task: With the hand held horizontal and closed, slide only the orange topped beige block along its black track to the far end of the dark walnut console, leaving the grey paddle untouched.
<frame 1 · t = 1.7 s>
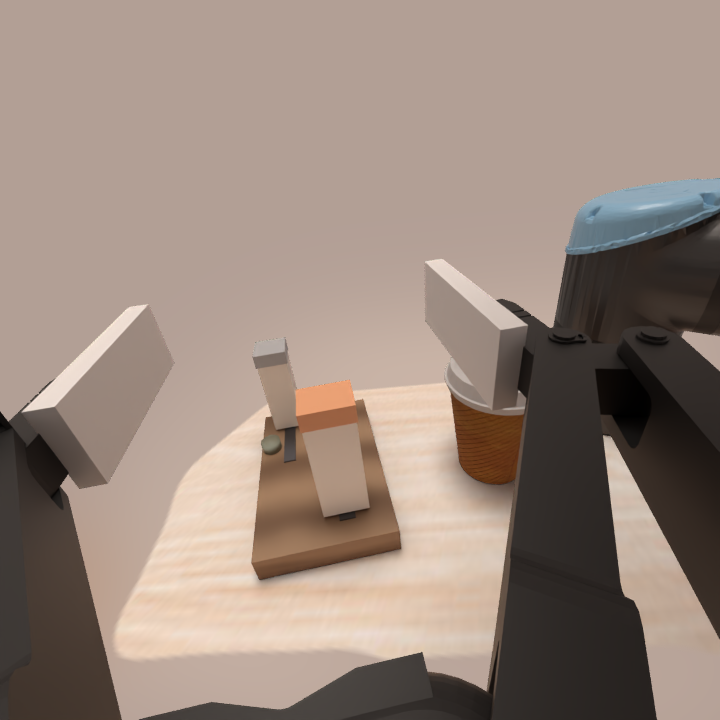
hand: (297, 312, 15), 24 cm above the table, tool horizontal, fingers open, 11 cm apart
disposable coffee cup: (489, 461, 38), on the table
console: (323, 479, 38), on the table
grey paddle: (280, 385, 40), point 8 cm above the table, slide at 0.0 cm
orange topped beige block: (335, 452, 30), point 9 cm above the table, slide at 0.0 cm
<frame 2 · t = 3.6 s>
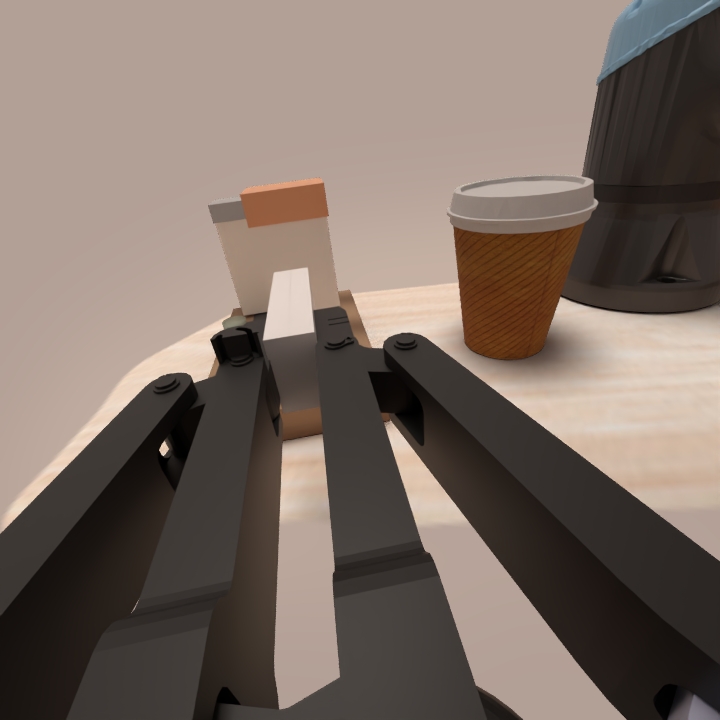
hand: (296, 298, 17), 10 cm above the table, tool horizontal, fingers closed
disposable coffee cup: (502, 342, 31), on the table
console: (298, 365, 31), on the table
grey paddle: (247, 257, 33), point 8 cm above the table, slide at 0.0 cm
orange topped beige block: (303, 286, 23), point 9 cm above the table, slide at 0.0 cm
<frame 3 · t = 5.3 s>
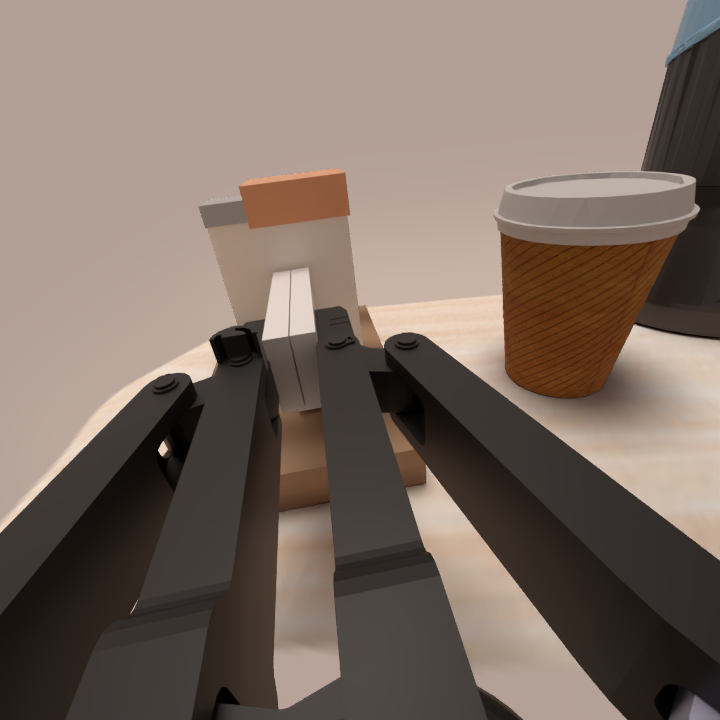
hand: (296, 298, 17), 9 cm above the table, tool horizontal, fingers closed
disposable coffee cup: (552, 373, 26), on the table
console: (305, 398, 26), on the table
grey paddle: (245, 268, 28), point 8 cm above the table, slide at 0.0 cm
orange topped beige block: (315, 300, 19), point 8 cm above the table, slide at 1.6 cm, touching gripper
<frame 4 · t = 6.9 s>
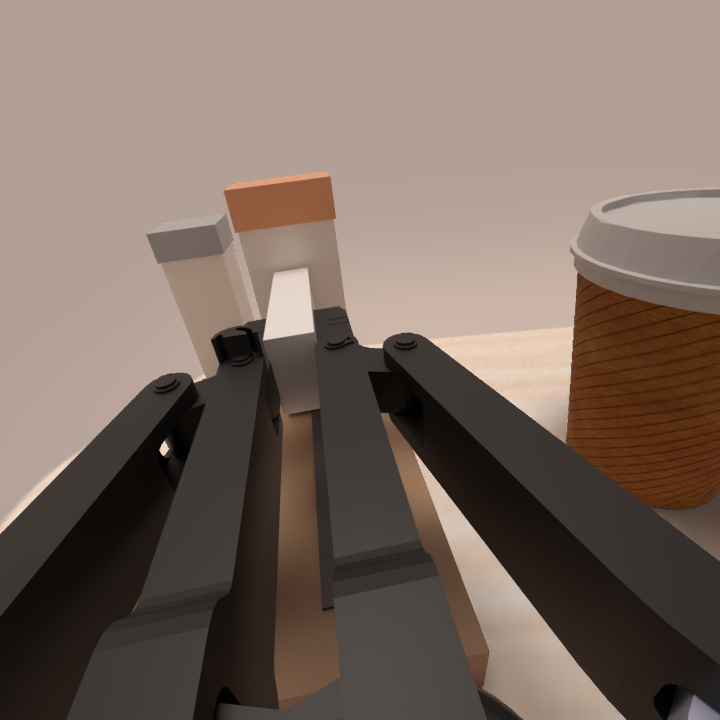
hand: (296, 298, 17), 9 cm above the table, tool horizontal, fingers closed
disposable coffee cup: (634, 459, 19), on the table
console: (297, 493, 19), on the table
grey paddle: (218, 311, 21), point 8 cm above the table, slide at 0.0 cm
orange topped beige block: (303, 302, 19), point 9 cm above the table, slide at 9.7 cm
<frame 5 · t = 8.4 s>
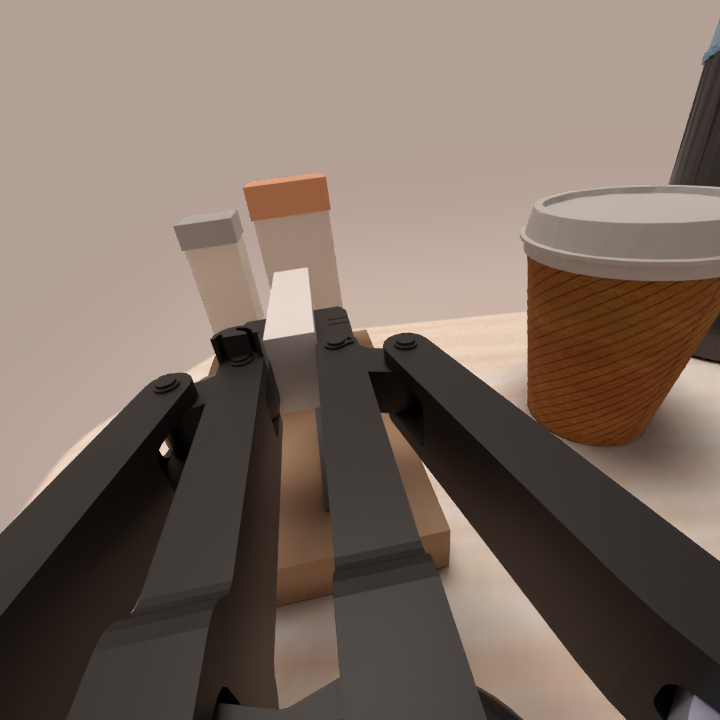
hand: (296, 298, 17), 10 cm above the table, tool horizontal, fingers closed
disposable coffee cup: (582, 412, 23), on the table
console: (301, 445, 23), on the table
grey paddle: (231, 293, 25), point 8 cm above the table, slide at 0.0 cm
orange topped beige block: (304, 280, 23), point 9 cm above the table, slide at 10.3 cm
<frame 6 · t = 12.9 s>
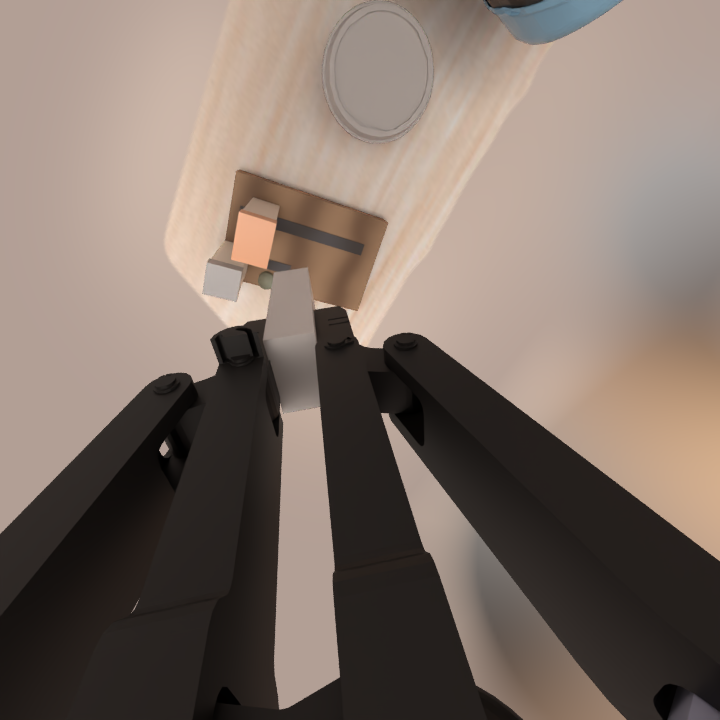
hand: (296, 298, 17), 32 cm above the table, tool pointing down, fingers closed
disposable coffee cup: (359, 93, 40), on the table
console: (303, 244, 47), on the table
grey paddle: (229, 268, 39), point 8 cm above the table, slide at 0.0 cm
orange topped beige block: (258, 229, 37), point 9 cm above the table, slide at 10.3 cm
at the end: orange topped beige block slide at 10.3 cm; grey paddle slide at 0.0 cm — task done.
